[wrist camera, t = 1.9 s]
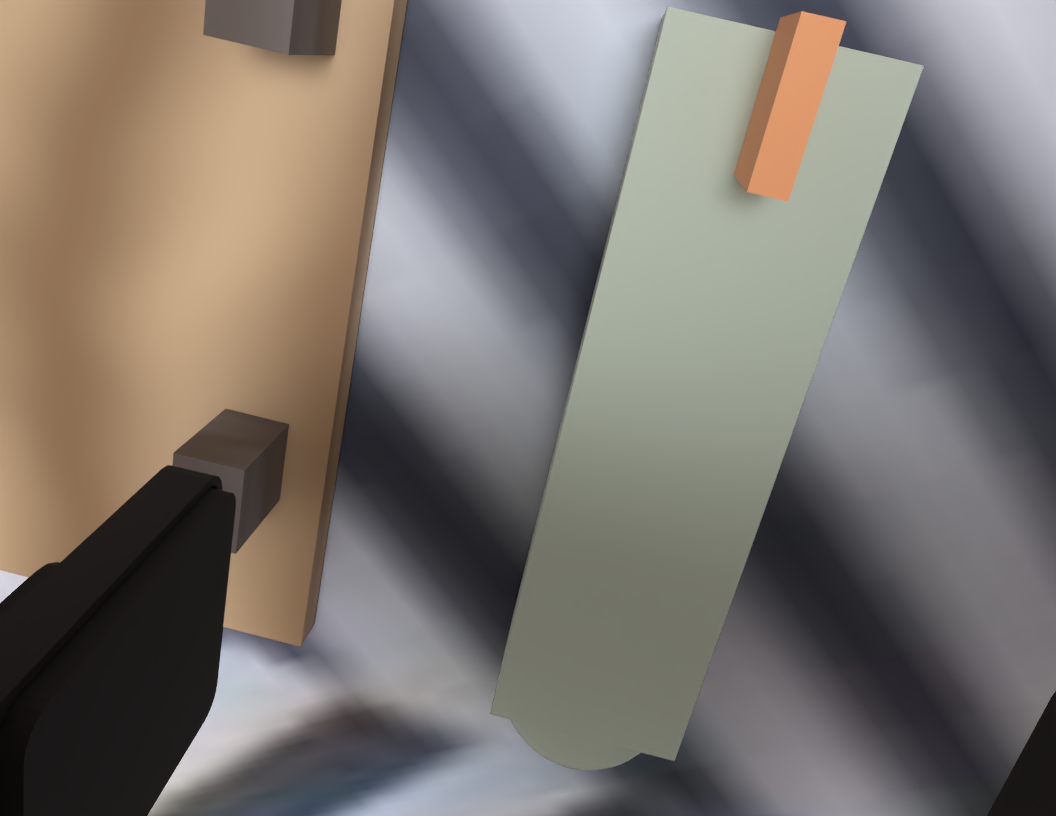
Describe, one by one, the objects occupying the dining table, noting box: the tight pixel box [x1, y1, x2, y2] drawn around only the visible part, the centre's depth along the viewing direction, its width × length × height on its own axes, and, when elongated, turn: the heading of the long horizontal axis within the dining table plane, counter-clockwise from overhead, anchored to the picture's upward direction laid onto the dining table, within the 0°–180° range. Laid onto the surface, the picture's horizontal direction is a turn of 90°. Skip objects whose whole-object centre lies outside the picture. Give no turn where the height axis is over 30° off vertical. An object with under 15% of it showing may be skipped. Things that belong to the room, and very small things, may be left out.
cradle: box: [0, 0, 407, 647], centre depth 19 cm, size 11×20×4 cm, turn 168°
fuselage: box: [490, 7, 924, 770], centre depth 18 cm, size 4×16×6 cm, turn 168°
